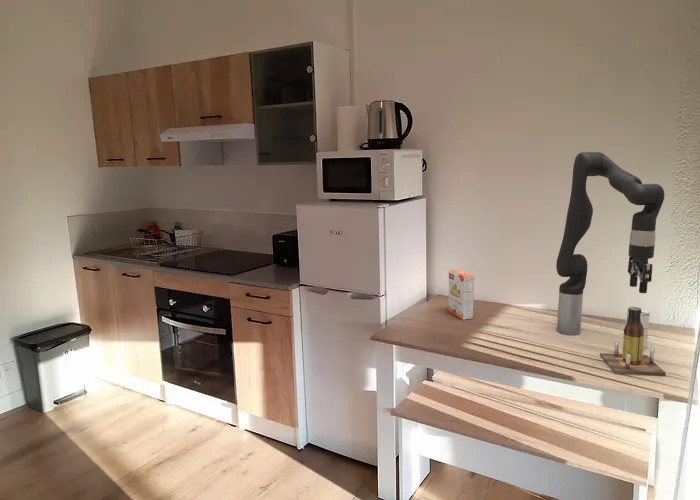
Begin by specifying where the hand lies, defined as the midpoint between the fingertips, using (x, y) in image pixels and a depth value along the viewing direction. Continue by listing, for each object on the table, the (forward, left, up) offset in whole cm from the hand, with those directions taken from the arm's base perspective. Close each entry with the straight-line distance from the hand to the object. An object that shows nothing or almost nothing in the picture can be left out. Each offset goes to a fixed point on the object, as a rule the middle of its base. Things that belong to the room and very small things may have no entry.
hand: (637, 289), depth 178 cm
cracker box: (-53, -56, -28) cm, 82 cm away
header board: (0, 0, -28) cm, 28 cm away
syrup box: (-20, +9, -28) cm, 35 cm away
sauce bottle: (0, 0, -27) cm, 27 cm away
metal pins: (0, +2, -26) cm, 27 cm away
